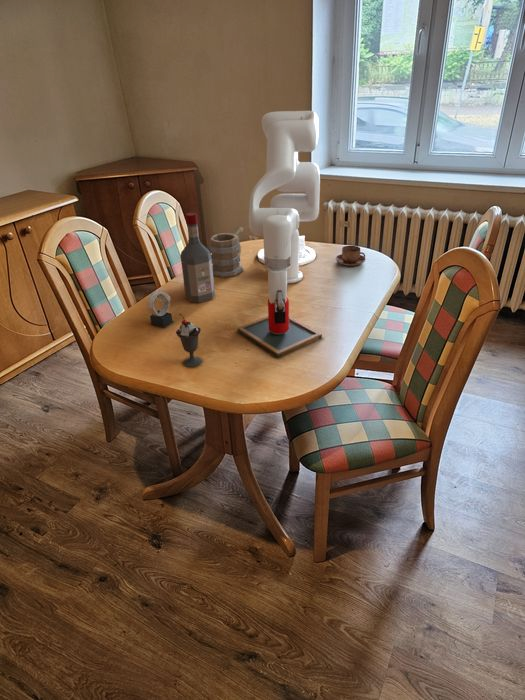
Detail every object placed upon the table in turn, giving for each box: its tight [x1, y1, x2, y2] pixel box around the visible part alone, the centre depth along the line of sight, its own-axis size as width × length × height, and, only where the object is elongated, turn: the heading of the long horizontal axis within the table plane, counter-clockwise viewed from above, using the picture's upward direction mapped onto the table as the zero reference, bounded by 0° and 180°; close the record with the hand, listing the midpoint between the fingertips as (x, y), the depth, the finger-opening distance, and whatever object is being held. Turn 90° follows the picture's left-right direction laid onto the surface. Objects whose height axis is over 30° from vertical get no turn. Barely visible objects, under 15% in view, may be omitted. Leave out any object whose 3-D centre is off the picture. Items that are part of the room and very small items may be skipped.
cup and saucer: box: [335, 245, 366, 267], centre depth 188 cm, size 12×12×6 cm
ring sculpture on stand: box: [147, 290, 174, 328], centre depth 147 cm, size 6×8×11 cm
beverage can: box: [267, 296, 290, 335], centre depth 137 cm, size 6×6×12 cm
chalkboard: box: [237, 315, 323, 359], centre depth 140 cm, size 20×17×2 cm
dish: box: [257, 235, 317, 267], centre depth 196 cm, size 25×25×11 cm
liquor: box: [180, 212, 216, 304], centre depth 158 cm, size 9×9×30 cm
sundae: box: [175, 313, 202, 368], centre depth 125 cm, size 7×7×15 cm
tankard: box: [208, 226, 244, 278], centre depth 185 cm, size 20×13×15 cm, turn 148°
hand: (278, 315), depth 137 cm, fingers open, 9 cm apart
